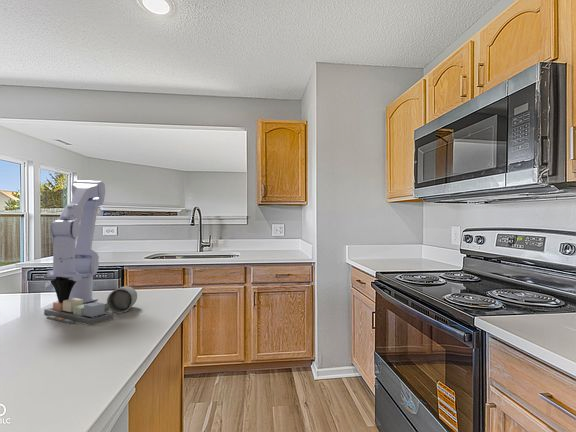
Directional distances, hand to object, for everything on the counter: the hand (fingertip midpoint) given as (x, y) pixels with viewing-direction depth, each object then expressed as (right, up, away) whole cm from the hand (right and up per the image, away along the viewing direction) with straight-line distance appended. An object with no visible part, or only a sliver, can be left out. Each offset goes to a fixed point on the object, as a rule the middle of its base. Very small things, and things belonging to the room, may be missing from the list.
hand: (63, 301), depth 106 cm
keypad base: (+7, -4, -3) cm, 8 cm away
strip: (+4, -3, -8) cm, 10 cm away
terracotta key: (0, -3, 0) cm, 3 cm away
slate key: (+13, -2, -7) cm, 15 cm away
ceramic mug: (+15, -4, +4) cm, 16 cm away
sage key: (+9, -3, -4) cm, 10 cm away
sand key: (+4, -2, -2) cm, 5 cm away
